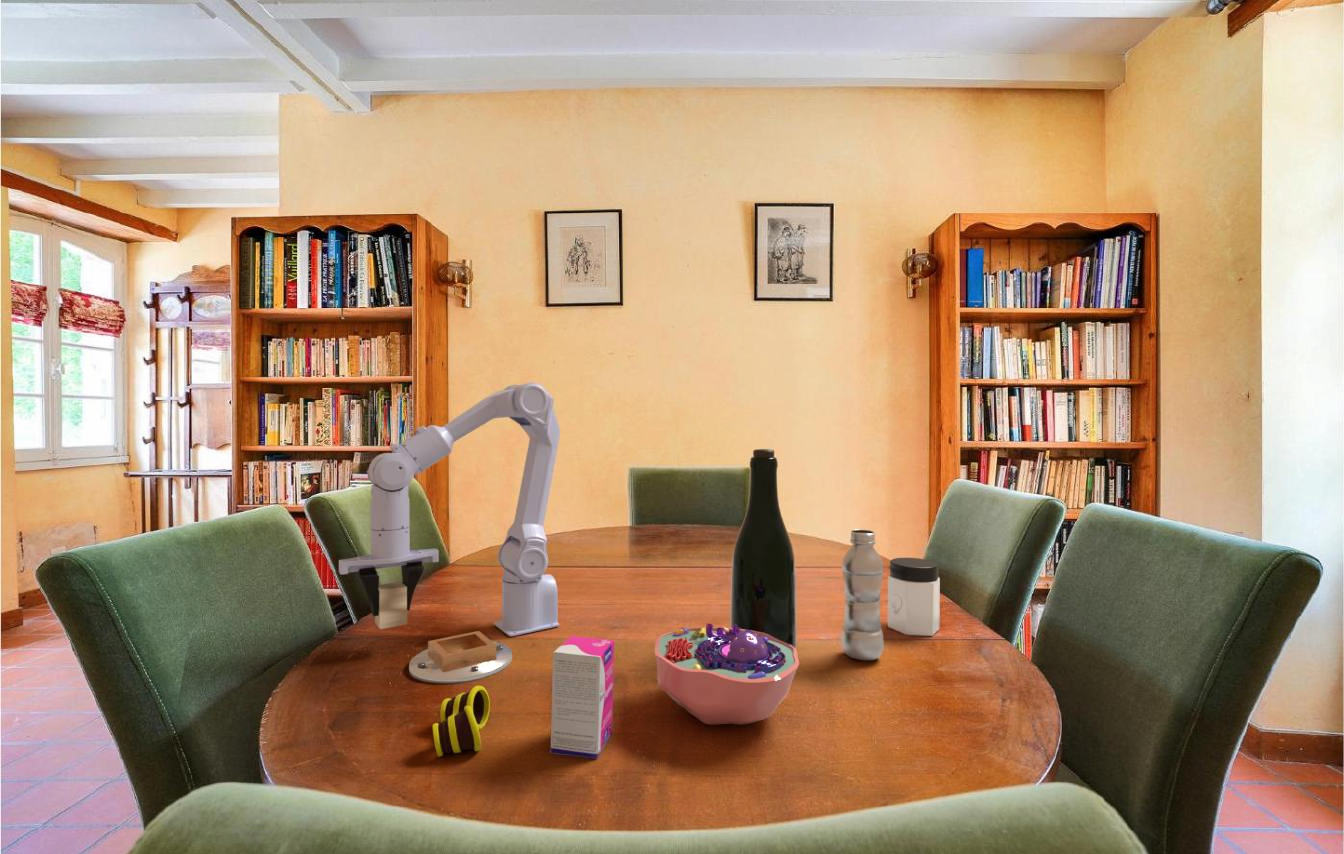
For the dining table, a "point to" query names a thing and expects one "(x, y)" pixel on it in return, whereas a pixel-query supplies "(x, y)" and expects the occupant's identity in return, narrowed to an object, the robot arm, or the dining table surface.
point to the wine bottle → (764, 559)
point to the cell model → (725, 672)
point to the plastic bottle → (862, 598)
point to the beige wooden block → (392, 605)
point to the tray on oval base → (460, 659)
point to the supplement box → (582, 696)
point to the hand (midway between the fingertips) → (390, 611)
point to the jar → (914, 596)
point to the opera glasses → (461, 721)
